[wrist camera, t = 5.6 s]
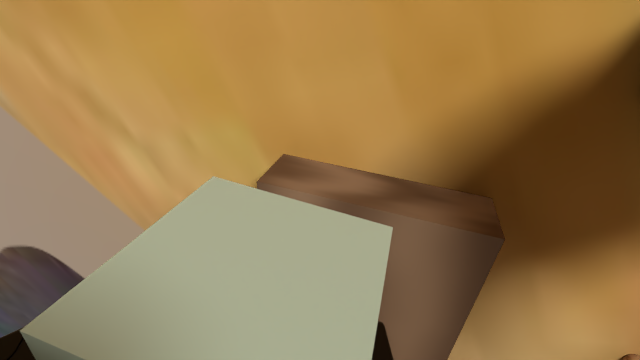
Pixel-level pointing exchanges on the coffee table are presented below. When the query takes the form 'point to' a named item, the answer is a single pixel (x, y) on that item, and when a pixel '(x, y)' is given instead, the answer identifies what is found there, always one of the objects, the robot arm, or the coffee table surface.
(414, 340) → the walnut block
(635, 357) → the lion figurine
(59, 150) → the coffee table surface
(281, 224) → the sage cube
